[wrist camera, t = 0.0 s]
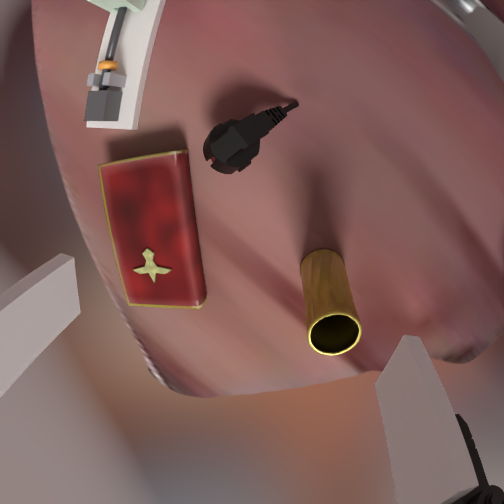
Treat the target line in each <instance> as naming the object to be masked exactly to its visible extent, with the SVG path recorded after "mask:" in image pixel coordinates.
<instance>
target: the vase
mask: <svg viewBox="0 0 504 504" xmlns="http://www.w3.org/2000/svg"><path fill="white" fill-rule="evenodd" d="M300 275H301V278H302V285H303V292H304V300H305V312H306V326H307V340H308V342H309V344H310V346H311V347H312V349H313V350H315V351H316V352H318V353H320V354H324V355H339V354H342V353H344V352H346V351H348V350H350V349H352V348H353V347H354V346H355V345H356V344H357V343H358V341H359V339H360V337H361V334H362V327H361V323H360V319H359V317H358V314H357V311H356V308H355V305H354V302H353V297H352V293H351V290H350V286H349V282H348V277H347V273H346V270H345V264H344V262H343V260H342V258H341V257H340V256H339V255H338V254H337V253H336V252H334V251H331V250H327V249H321V250H317V251H314V252H312V253H310V254H309V255H307V256H306V257H305V259H304V260H303V262H302V264H301V267H300Z"/></svg>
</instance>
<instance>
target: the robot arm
mask: <svg viewBox="0 0 504 504" xmlns="http://www.w3.org/2000/svg"><path fill="white" fill-rule="evenodd" d="M79 313H81V312H80V305H79V298H78V291H77V283H76V274H75V264H74V257H71V256H68V255H65V254H62V253H61V254H59V255H57V256H56V257H54V258H53V259H51V260H50V261H48V262H47V263H45V264H44V265H42V266H40V267H39V268H37V269H36V270H34V271H33V272H32V273H30V274H29V275H27V276H26V277H24V278H23V279H21V280H20V281H18V282H17V283H16V284H14V285H13V286H11V287H10V288H9V289H7V290H6V291H4V292H3V293H2V294H0V398H1V397H2V395H3V394H4V393H5V392H6V391H7V390H8V388H9V387H10V386H11V385H12V384H13V383H14V382H15V380H16V379H17V378H18V377H19V376H20V375H21V374H22V373H23V372H24V370H25V369H26V368H27V367H28V366H29V365H30V364H31V363H32V362H33V361H34V360H35V359H36V357H37V356H38V355H39V354H40V353H41V352H42V351H43V350H44V349H45V348H46V347H47V346H48V345H49V344H50V343H51V341H53V340H54V339H55V338H56V337H57V336H58V334H60V333H61V331H62V330H64V329H65V328H66V327H67V326H68V324H70V323H71V322H72V320H74V319H75V318H76V317H77V316H78V315H79ZM375 388H376V393H377V397H378V402H379V406H380V411H381V415H382V419H383V425H384V429H385V435H386V440H387V445H388V450H389V455H390V462H391V468H392V474H393V481H394V488H395V495H396V502H397V504H504V492H503V490H502V489H501V488H499V487H498V486H495V485H491V486H489V484H488V482H487V479H486V476H485V472H484V469H483V466H482V463H481V460H480V457H479V455H478V452H477V449H475V443H474V440H473V439H472V435H471V433H470V430H469V427H468V425H467V423H466V422H465V421H464V420H463V418H462V417H461V416H460V415H459V414H454V411H453V409H452V407H451V404H450V402H449V399H448V397H447V395H446V392H445V390H444V388H443V385H442V383H441V381H440V379H439V376H438V374H437V372H436V370H435V368H434V366H433V364H432V361H431V359H430V357H429V355H428V353H427V351H426V349H425V347H424V345H423V343H422V341H421V339H420V337H416V336H409V335H403V337H402V339H401V341H400V342H399V344H398V346H397V348H396V350H395V351H394V353H393V355H392V357H391V358H390V360H389V362H388V364H387V365H386V367H385V369H384V370H383V372H382V373H381V375H380V377H379V378H378V380H377V382H376V383H375Z"/></svg>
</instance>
